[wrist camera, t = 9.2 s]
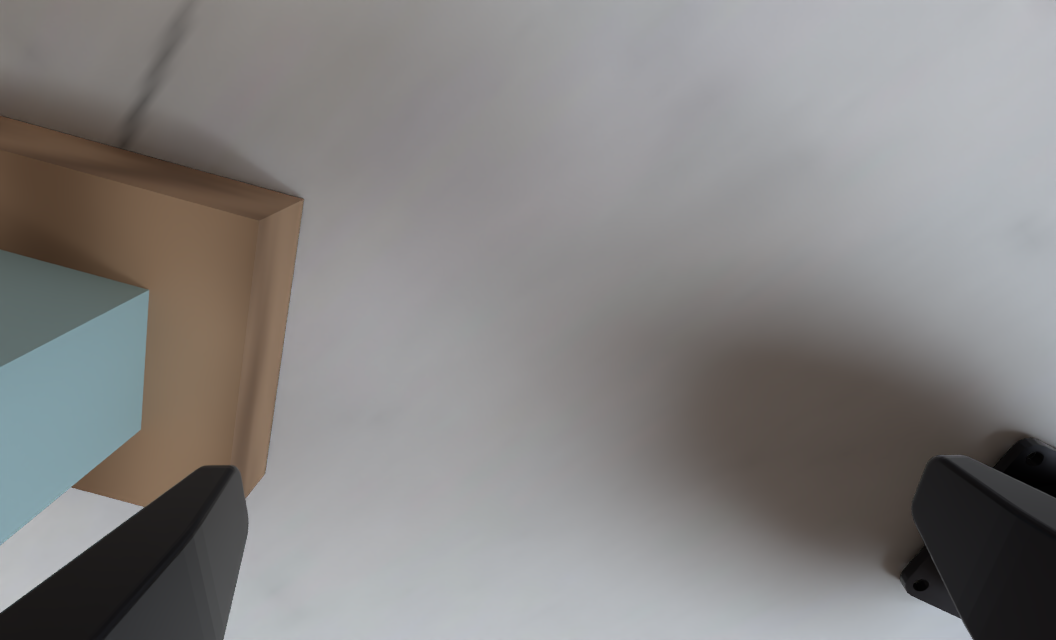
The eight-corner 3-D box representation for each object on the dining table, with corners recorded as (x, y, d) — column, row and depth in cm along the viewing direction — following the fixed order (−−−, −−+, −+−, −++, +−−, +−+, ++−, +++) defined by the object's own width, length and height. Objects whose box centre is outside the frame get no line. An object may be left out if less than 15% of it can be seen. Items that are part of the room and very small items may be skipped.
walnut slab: (303, 199, 21) (259, 220, 18) (265, 473, 24) (222, 527, 21) (-24, 108, 20) (-121, 116, 18) (-14, 398, 24) (-94, 443, 21)
